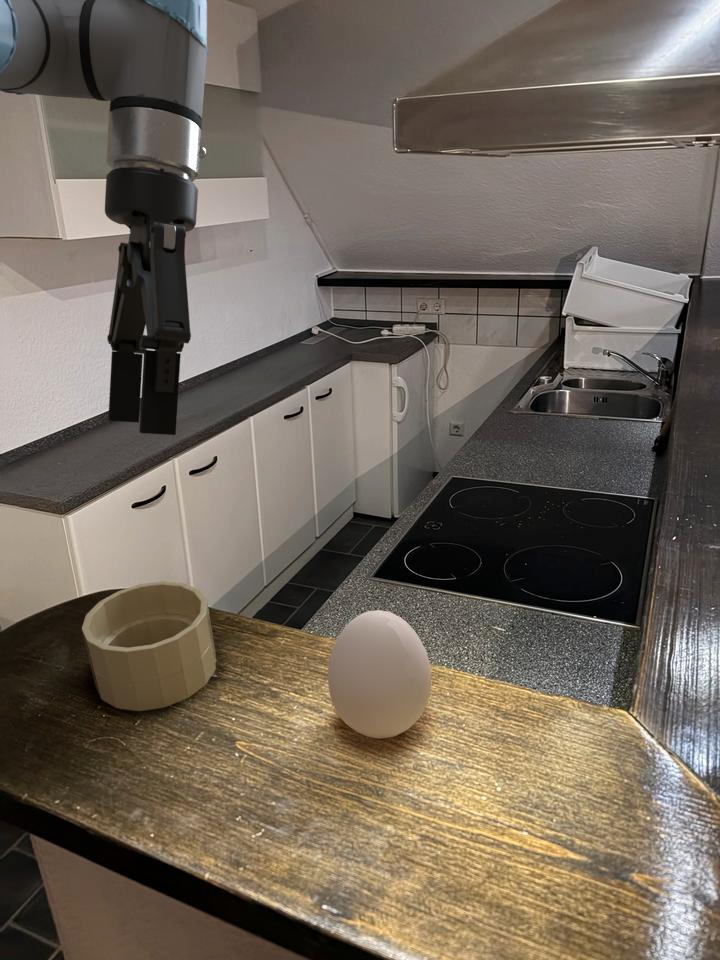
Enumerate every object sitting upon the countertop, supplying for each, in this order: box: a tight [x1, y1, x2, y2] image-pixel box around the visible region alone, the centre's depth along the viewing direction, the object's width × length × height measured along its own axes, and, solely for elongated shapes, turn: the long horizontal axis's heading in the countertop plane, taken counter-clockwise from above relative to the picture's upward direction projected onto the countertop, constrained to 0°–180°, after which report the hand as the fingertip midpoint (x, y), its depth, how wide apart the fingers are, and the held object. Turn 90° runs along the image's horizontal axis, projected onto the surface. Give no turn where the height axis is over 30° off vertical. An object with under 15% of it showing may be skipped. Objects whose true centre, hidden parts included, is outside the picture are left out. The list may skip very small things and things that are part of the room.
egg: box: [327, 609, 432, 740], centre depth 64 cm, size 9×9×11 cm
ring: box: [81, 581, 217, 712], centre depth 72 cm, size 11×11×8 cm
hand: (139, 427), depth 67 cm, fingers open, 13 cm apart
